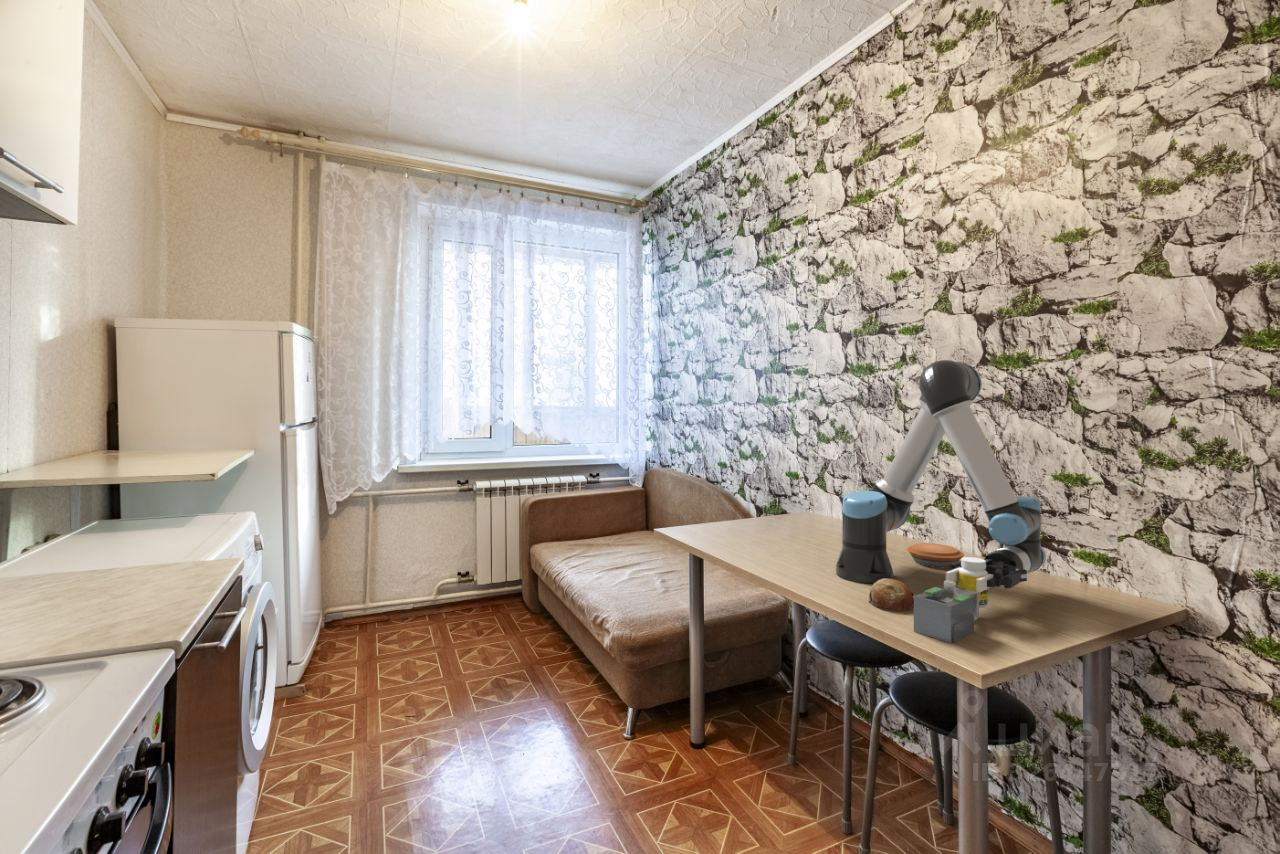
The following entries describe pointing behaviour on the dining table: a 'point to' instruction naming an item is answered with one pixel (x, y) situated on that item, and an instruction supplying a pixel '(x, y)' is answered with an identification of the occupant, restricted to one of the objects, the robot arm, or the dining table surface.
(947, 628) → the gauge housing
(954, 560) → the pie
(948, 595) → the plunger
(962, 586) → the supplement bottle
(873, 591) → the bread roll
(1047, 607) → the dining table surface
